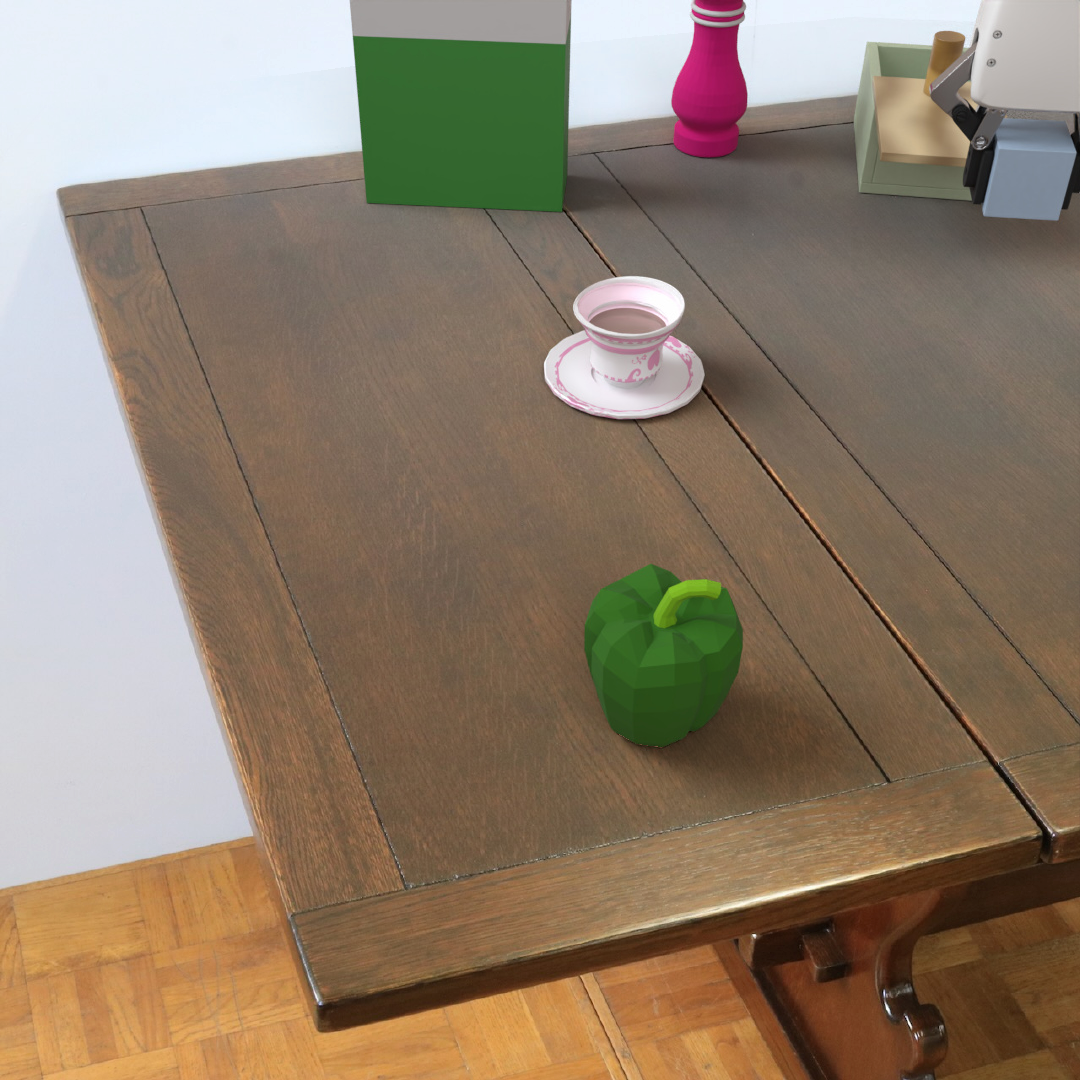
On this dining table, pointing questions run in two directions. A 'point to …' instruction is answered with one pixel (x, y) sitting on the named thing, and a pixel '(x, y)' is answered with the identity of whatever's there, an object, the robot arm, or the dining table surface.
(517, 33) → the hardback book
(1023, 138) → the block
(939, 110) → the wooden box lid
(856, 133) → the box
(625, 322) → the teacup
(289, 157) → the dining table surface
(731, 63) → the pepper mill
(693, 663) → the bell pepper
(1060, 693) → the dining table surface
